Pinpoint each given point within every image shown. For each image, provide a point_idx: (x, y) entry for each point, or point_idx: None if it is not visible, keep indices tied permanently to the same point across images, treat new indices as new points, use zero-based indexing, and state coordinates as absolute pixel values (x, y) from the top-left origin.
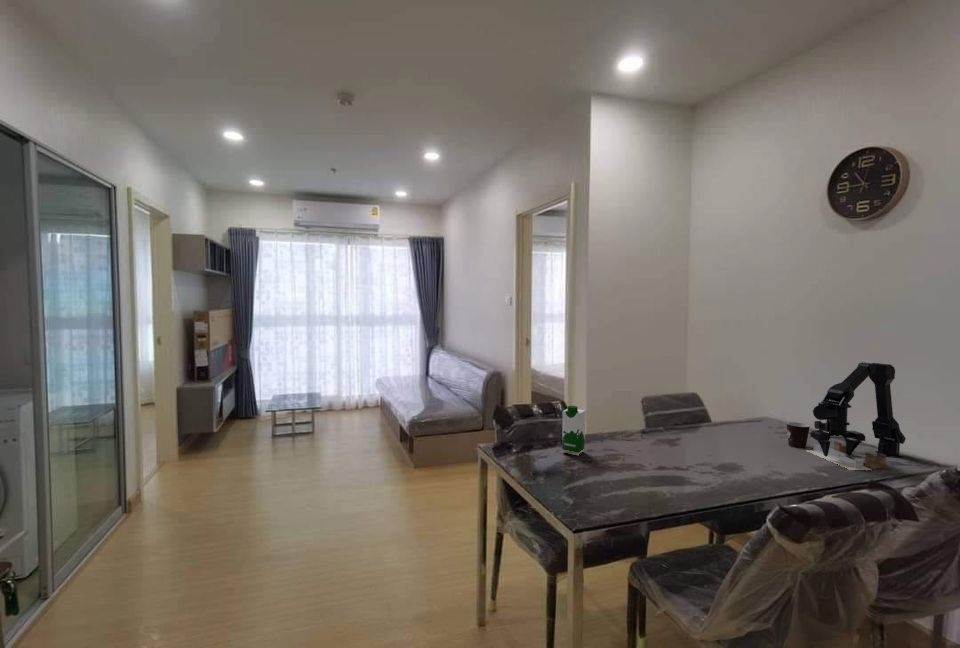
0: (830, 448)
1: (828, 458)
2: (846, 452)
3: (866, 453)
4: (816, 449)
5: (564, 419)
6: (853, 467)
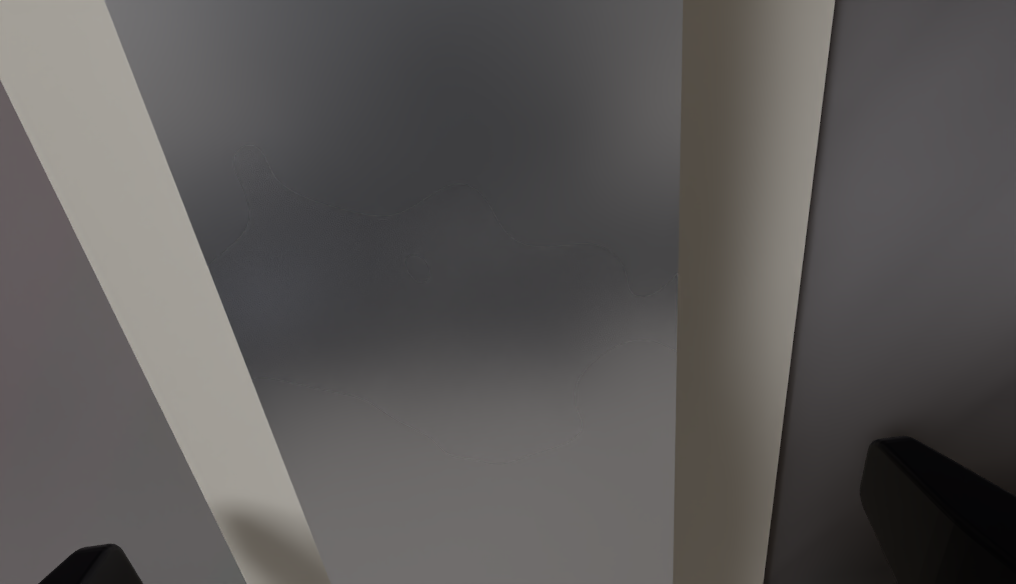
0: (599, 190)
1: None
2: (949, 534)
3: None
4: None
5: None
6: None
